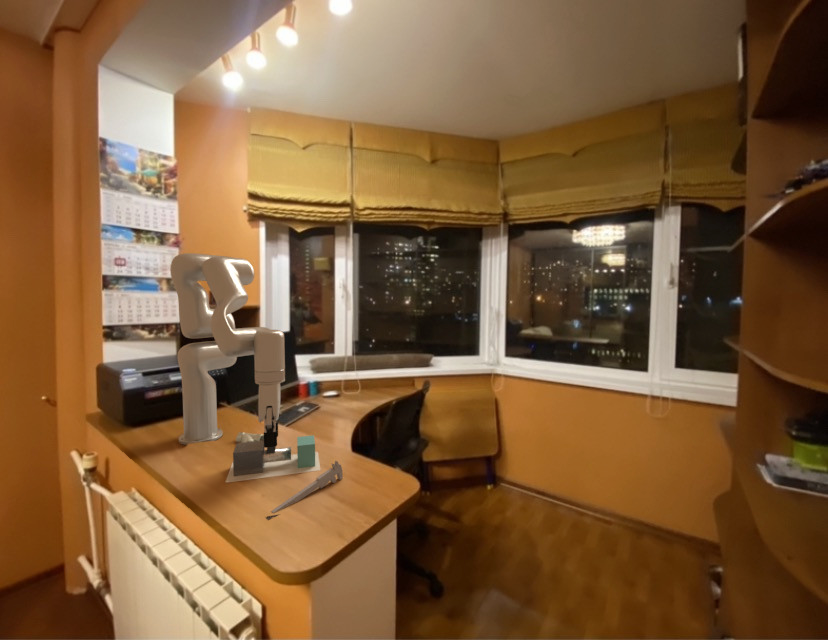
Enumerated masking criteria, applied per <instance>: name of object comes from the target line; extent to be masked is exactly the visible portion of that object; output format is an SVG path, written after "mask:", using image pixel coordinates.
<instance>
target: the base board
mask: <svg viewBox="0 0 828 640" xmlns="http://www.w3.org/2000/svg"><path fill="white" fill-rule="evenodd" d="M318 471H321V464H320V456H319V452H318V451H315V466H312V467H304V468H298V455H297V453H294V454H291V460H286V461H278V462H270V463H265V464H264V470H263V473H257V474H249V475H242V476H234V473H233V462H232V463H231V466H230V469H229V471H228V474H227V477H226V479H225V483H234V482H243V481H250V480H257V479H258V480H259V479H265V478H273V477H281V476H288V475H295V474H302V473H303V474H304V473H311V472H318Z"/></svg>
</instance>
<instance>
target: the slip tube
mask: <svg viewBox="0 0 828 640" xmlns="http://www.w3.org/2000/svg"><path fill="white" fill-rule="evenodd" d="M291 455H292V447H291V446H285V447H277V446H275V447H266V449H265V450H263V463H270V462H278V461H286V460H291Z"/></svg>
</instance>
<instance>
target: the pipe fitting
mask: <svg viewBox="0 0 828 640" xmlns="http://www.w3.org/2000/svg"><path fill="white" fill-rule="evenodd" d="M235 439H236V440H235V441H236V443H245V442H254V441H264V433H263V434H261V433H249V432H240V431H239V432H238V433H237V435H236V437H235Z"/></svg>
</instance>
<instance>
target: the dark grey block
mask: <svg viewBox="0 0 828 640" xmlns="http://www.w3.org/2000/svg"><path fill="white" fill-rule="evenodd" d="M263 450H266V449H265V447H264V441H261V440H260V441H254V442H245V443H242V442H241V443H240V442H236V443H235V446H234V449H233V452H232V463H233V473H234V476H242V475H249V474H257V473H263V470H264V464H265V463H263Z"/></svg>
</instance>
